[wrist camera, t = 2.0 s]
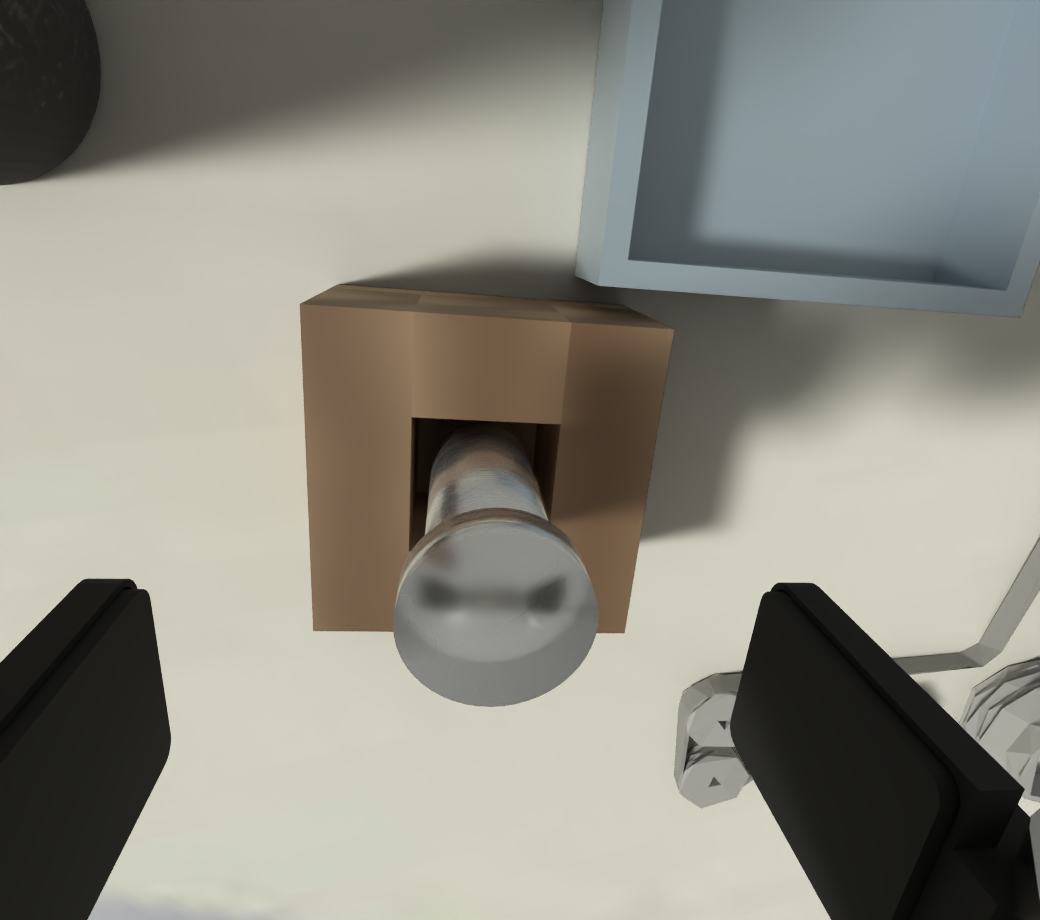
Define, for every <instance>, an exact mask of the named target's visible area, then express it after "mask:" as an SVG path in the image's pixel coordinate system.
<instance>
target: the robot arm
mask: <svg viewBox="0 0 1040 920" xmlns="http://www.w3.org/2000/svg"><path fill="white" fill-rule="evenodd" d="M730 732H731V737H732V741H733V743H734V745H735V747H736V749H737V751H738V753H739V755H740V756H741V758H742V760H743V762H744V764H745V765H746V767H747V769H748V771H749V773H750V774H751V776H752V778H753V780H754V782H755V783H756V785H757V787H758V789H759V791H760V792H761V794H762V796H763V798H764V800H765V801H766V803H767V805H768V807H769V809H770V810H771V812H772V814H773V816H774V818H775V819H776V821H777V823H778V825H779V827H780V828H781V830H782V832H783V834H784V835H785V837H786V839H787V841H788V843H789V844H790V846H791V848H792V850H793V852H794V853H795V855H796V857H797V859H798V861H799V862H800V864H801V866H802V868H803V870H804V871H805V873H806V875H807V877H808V879H809V880H810V882H811V884H812V886H813V888H814V889H815V891H816V893H817V895H818V897H819V898H820V900H821V902H822V904H823V906H824V907H825V909H826V911H827V913H828V915H829V916H830V918H831V920H1040V809H1039V810H1037V811H1036V812H1035V813H1034V814H1032V815H1031V817H1029V816H1028V815H1027V814H1026V813H1025V812H1024V811H1023V810H1022V809H1021V808H1020V807H1019V806H1018V802H1019V800H1020V798H1021V796H1022V794H1023V792H1024V790H1025V789H1024V788H1023V787H1022V786H1021V785H1020V784H1019V783H1018V782H1017V781H1016V780H1015V779H1014V778H1013V777H1012V776H1011V775H1010V774H1009V773H1008V772H1007V771H1006V770H1005V769H1004V768H1003V767H1002V766H1001V765H1000V764H999V763H998V762H997V761H996V760H995V759H994V758H993V757H992V756H991V755H990V754H989V753H988V752H987V751H986V750H985V749H984V748H983V747H982V746H981V745H980V744H979V743H978V742H977V741H976V740H974V739H973V738H972V737H971V736H970V735H969V734H968V733H967V732H966V731H965V730H964V729H963V728H962V727H961V726H960V725H959V724H958V723H957V722H956V721H955V720H954V719H953V718H952V717H951V716H950V715H949V714H948V713H947V712H946V711H945V710H944V709H943V708H942V707H941V706H940V705H939V704H938V703H937V702H936V701H935V700H934V699H933V698H932V697H931V696H930V695H929V694H928V693H927V692H926V691H925V690H923V689H922V688H921V687H920V686H919V685H918V684H917V683H916V682H915V681H914V680H913V679H912V678H911V677H910V676H909V675H908V674H907V673H906V672H905V671H904V670H903V669H902V668H901V667H900V666H899V665H898V664H897V663H896V662H895V661H894V660H893V659H892V658H891V657H890V656H889V655H888V654H887V653H886V652H885V651H884V650H883V649H882V648H881V647H880V646H879V645H878V644H877V643H876V642H875V641H873V640H872V639H871V638H870V637H869V636H868V635H867V634H866V633H865V632H864V631H863V630H862V629H861V628H860V627H859V626H858V625H857V624H856V623H855V622H854V621H853V620H852V619H851V618H850V617H849V616H848V615H847V614H846V613H845V612H844V611H843V610H842V609H841V608H840V607H839V606H838V605H837V604H836V603H835V602H834V601H833V600H832V599H831V598H830V597H829V596H828V595H827V594H826V593H825V592H823V591H822V590H821V589H820V588H819V587H818V586H817V585H815V584H813V583H777V584H775V585H774V586H773V588H772V589H771V592H766V593H765V594H764V595H763V596H762V599H761V602H760V606H759V610H758V614H757V618H756V622H755V625H754V629H753V633H752V637H751V641H750V645H749V649H748V653H747V657H746V661H745V665H744V669H743V672H742V676H741V680H740V684H739V688H738V692H737V696H736V700H735V704H734V708H733V712H732V716H731V720H730ZM170 745H171V733H170V726H169V720H168V713H167V706H166V700H165V693H164V687H163V680H162V673H161V667H160V660H159V654H158V647H157V640H156V634H155V627H154V620H153V614H152V607H151V601H150V596H149V594H148V592H147V591H146V590H144V589H137V586H136V584H135V583H134V581H132V580H131V579H84V580H82V581H81V582H80V583H78V584H77V585H76V586H75V587H74V588H73V589H72V590H71V591H70V592H69V593H68V594H67V596H66V597H65V598H64V599H63V600H62V601H61V602H60V603H59V604H58V605H57V606H56V607H55V608H54V609H53V610H52V611H51V612H50V613H49V614H48V615H47V616H46V617H45V618H44V619H43V620H42V621H41V622H40V623H39V624H38V625H37V626H36V627H35V628H34V629H33V630H32V631H31V632H30V633H29V634H28V635H27V636H26V637H25V638H24V639H23V640H22V641H21V642H20V643H19V644H18V645H17V646H16V647H15V648H14V649H13V650H12V651H11V652H10V653H9V654H8V656H7V657H6V658H5V659H4V660H3V661H2V662H1V663H0V920H87V919H88V917H89V915H90V913H91V911H92V909H93V907H94V905H95V903H96V901H97V899H98V897H99V895H100V893H101V891H102V889H103V887H104V885H105V883H106V881H107V879H108V877H109V875H110V873H111V871H112V869H113V867H114V865H115V863H116V861H117V859H118V857H119V855H120V853H121V851H122V849H123V847H124V845H125V843H126V841H127V839H128V837H129V836H130V834H131V832H132V830H133V828H134V826H135V824H136V822H137V820H138V818H139V816H140V814H141V812H142V810H143V808H144V806H145V804H146V802H147V800H148V798H149V796H150V794H151V792H152V790H153V788H154V786H155V784H156V782H157V780H158V778H159V776H160V774H161V772H162V770H163V768H164V766H165V763H166V761H167V758H168V755H169V751H170Z"/></svg>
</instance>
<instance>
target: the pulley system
mask: <svg viewBox="0 0 1040 920" xmlns="http://www.w3.org/2000/svg"><path fill="white" fill-rule="evenodd" d="M1039 590H1040V540H1039V542H1038V543H1037V545H1036V547H1035V548H1034V550H1033V552H1032V553H1031V555H1030V557H1029V559H1028V560H1027V562H1026V564H1025V565H1024V567H1023V569H1022V570H1021V572H1020V574H1019V576H1018V577H1017V579H1016V581H1015V582H1014V584H1013V586H1012V588H1011V589H1010V591H1009V593H1008V594H1007V596H1006V598H1005V599H1004V601H1003V603H1002V605H1001V606H1000V608H999V610H998V611H997V613H996V615H995V617H994V618H993V620H992V622H991V623H990V625H989V627H988V628H987V630H986V632H985V634H984V635H983V637H982V639H981V640H980V642H979V643H978V644H976V645H974V646H972V647H970V648H968V649H966V650H964V651H962V652H960V653H952V654H941V655H930V656H920V657H909V658H899V659H893V660H894V661H895V662H896V663H897V664H898V665H899V666H900V667H901V668H902V669H903V670H904V671H905V672H906V673H907V674H908V675H913V674H921V673H930V672H939V671H948V670H957V669H966V668H974V667H983V666H984V665H986V664H987V663H988V662H989V661H991V660H992V659H993V658H995V657H996V656H997V655H998V654H1000V653H1001V652H1002V650H1003V649H1004V647H1005V646H1006V644H1007V642H1008V641H1009V639H1010V637H1011V636H1012V634H1013V633H1014V631H1015V629H1016V628H1017V626H1018V624H1019V623H1020V621H1021V620H1022V618H1023V616H1024V615H1025V613H1026V611H1027V610H1028V608H1029V607H1030V605H1031V603H1032V602H1033V600H1034V599H1035V597H1036V595H1037V594H1038V592H1039ZM741 676H742V673H740V674H729V675H722V674H719V673H716V674H714V675H712V676H710V677H708V678H706V679H705V680H703V681H701V682H699V683H697V684H695V685H693V686H691V687H690V688H688V689H686V690H684V691H683V694H682V697H681V701H680V704H679V710H678V724H677V739H676V754H675V769H674V776H675V780H676V783H677V786H678V789H679V793H680V794H681V795H682V796H683V797H684V798H686V799H687V800H689V801H690V802H692V803H694V804H695V805H697V806H699V807H700V808H704V807H707V806H710V805H713V804H717V803H720V802H723V801H726V800H730V799H733V798H736V797H737V795H738V794H739V792H740V791H741V789H742V787H744V786H745V785H746V784H748V783H749V782H751V781H752V780H753V778H752V776H751V774H750V773H749V771H748V769H747V767H746V766H744V765H743V763H742V761H741V759H739V758H738V756H737V755H736V753H735V752H734V751H733V749H732V747H735V745H734V743H733V741H732V737H731V732H730V720H731V716H732V712H733V708H734V704H735V700H736V696H737V692H738V688H739V684H740V680H741ZM959 723H960V725H961V726H962V727H963V729H964V730H965V731H966V732H967V733H968V734H969V735H970V736H971V737H972V738H973V739H974V740H976V741H977V742H978V743H979V744H980V745H981V746H982V747H983V748H984V749H985V750H986V751H987V752H988V753H989V754H990V755H991V756H992V757H993V758H994V759H995V760H996V761H997V762H998V763H999V764H1000V765H1001V766H1002V767H1003V768H1004V769H1005V770H1006V771H1007V772H1008V773H1009V774H1010V775H1011V776H1012V777H1013V778H1014V779H1015V780H1016V781H1017V782H1018V783H1019V784H1020V785H1021V786H1022V787H1023V788H1024V789H1025V790H1024V792H1023V794H1022V796H1023V798H1025V799H1028V800H1032V801H1036V802H1040V660H1035V661H1031V662H1026V663H1022V664H1017V665H1013V666H1008V667H1006V668H1005V669H1003V670H1002V671H1000V672H998V673H997V674H995V675H994V676H992V677H990V678H989V679H987V680H985V681H984V682H982V683H981V684H979V685H977V686H976V687H974V688H973V690H972V691H971V693H970V695H969V698H968V701H967V703H966V706H965V708H964V711H963V714H962V716H961V719H960V721H959ZM689 736H690V737H691V738H692V739H693V740H694V741H695V742H696V743H697V744H698V745H696V746H693V747H691V748H690V750H689V751H688V752H687V747H688V740H689ZM686 753H687V754H686Z"/></svg>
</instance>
